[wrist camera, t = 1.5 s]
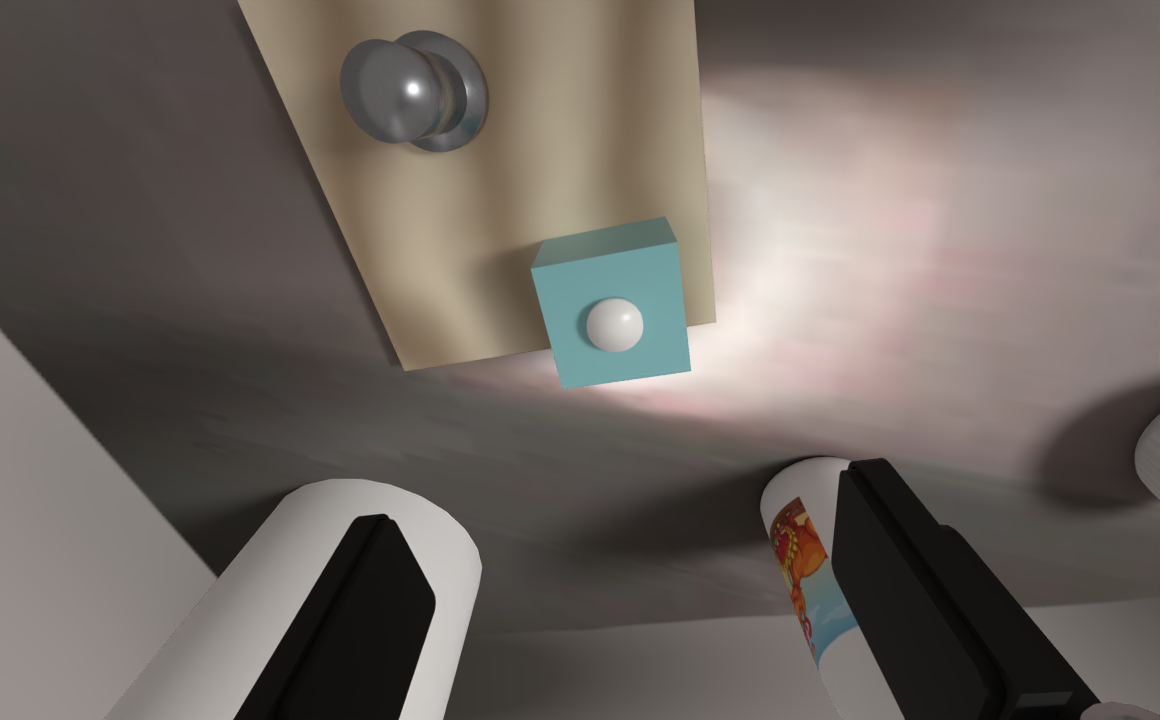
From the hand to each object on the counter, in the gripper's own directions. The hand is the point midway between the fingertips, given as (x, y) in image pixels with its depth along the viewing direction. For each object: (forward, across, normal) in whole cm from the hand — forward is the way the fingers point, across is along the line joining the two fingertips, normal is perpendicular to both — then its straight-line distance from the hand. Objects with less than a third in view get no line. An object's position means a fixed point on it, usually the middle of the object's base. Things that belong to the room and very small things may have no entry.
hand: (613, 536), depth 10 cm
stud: (+16, +6, -10) cm, 20 cm away
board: (+17, +4, -6) cm, 19 cm away
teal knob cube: (+16, 0, 0) cm, 16 cm away
